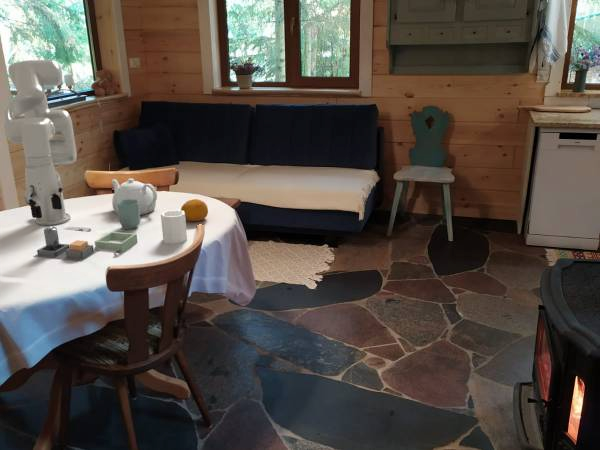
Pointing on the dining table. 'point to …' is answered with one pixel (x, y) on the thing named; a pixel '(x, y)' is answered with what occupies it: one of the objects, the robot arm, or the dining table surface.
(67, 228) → the handheld gaming console
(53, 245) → the cylinder
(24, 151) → the robot arm
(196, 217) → the fruit
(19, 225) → the dining table surface
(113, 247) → the green square tray
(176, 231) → the mug
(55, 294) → the dining table surface
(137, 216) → the cup
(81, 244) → the orange block
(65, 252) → the grey two-pocket panel
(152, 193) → the teapot
